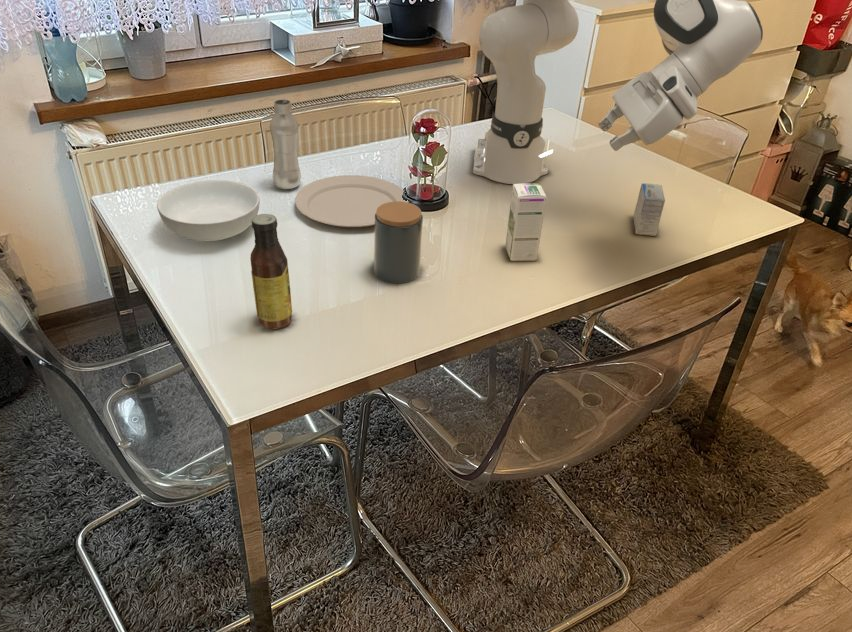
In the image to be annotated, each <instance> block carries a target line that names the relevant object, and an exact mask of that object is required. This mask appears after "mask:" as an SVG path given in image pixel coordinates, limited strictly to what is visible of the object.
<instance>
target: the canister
mask: <svg viewBox="0 0 852 632" xmlns="http://www.w3.org/2000/svg"><path fill="white" fill-rule="evenodd" d="M423 219H424V216H423V214H422V210H421V208H420V207H419V206H418V205H416V204H414V203H411V202H409V203H407V202H399V201H396V202H388V203H385V204H382V205H380V206H379V207H378V208H377V211H376V214H375V225H374V237H373V238H374V239H373V240H374V242H373V245H374V246H373V273H374V275H375V277H377V278H378V280H381V281H382V282H385V283H391V284H405V283H410V282H412V281H414V280H416V279H418V277H419V275H420V271H421V257H422V239H423V238H422V236H423V221H424V220H423Z"/></svg>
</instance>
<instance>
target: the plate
mask: <svg viewBox="0 0 852 632" xmlns="http://www.w3.org/2000/svg"><path fill="white" fill-rule="evenodd" d="M404 191H405V190H404V189H403V188H402V187H400V186H398V185H397V184H395V183H394V182H391V181H389V180H386V179H383V178H379V177H373V176H370V175H369V176H368V175H358V174H357V175H356V174H355V175H354V174H346V175H335V176H334V175H333V176H328V177H324V178H320V179H317V180H314V181H312V182H310V183H307V184H306V185H305V186H303V187H301V189H299V190H298V192H297V193H296V195H295V198H294V202H295V207H296V208H297V210H298V211H299V212H300V213H301V214H302V215H304V216H305V217H307V218H309V219H311V220H312V221H315V222H318V223H322V224H326V225H330V226H335V227H340V228H363V227H364V228H365V227H371V226H375V214H376V211H377V208H378V207H379V206H380V205H382V204H385V203H388V202H396V201H399V202H407V203H410V200H409V201H408V200H407V201H405V200H403V198H402V195H403V192H404Z"/></svg>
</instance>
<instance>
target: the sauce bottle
mask: <svg viewBox="0 0 852 632" xmlns="http://www.w3.org/2000/svg"><path fill="white" fill-rule="evenodd" d="M251 228H252V230H253V235H254V247H253V249H252V251H251V253H250V259H249V260H250V267H251V281H252V287H253V295H254V304H255V311H256V316H257V321H258V322H259V324H260V325H261V326H262V327H263V328H266V329H269V330H277V329H278V330H279V329H281V328H285V327H286V326H288V325H289V324H290V323H291V322H292V320H293V305H292V304H293V303H292V294H291V293H292V292H291V282H290V274H289V273H290V272H289V263H288V257H287V255H286V254H285V251H284V249H283V247H282V245H281V243H280V241H279V238H278V237H279V236H278V230H277V229H278V220H277V217H276V216H275V215H274V214H270V213H261V214H257V216H255V217H253V218H252V224H251Z"/></svg>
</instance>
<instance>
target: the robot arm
mask: <svg viewBox="0 0 852 632" xmlns="http://www.w3.org/2000/svg"><path fill="white" fill-rule="evenodd" d="M653 21H654V24H655V28H656V29H657V32H658V35H659V36H660V38H661V43H662V46H663V48H664V50H665V52H666V54H668V56H667V57H666V58H665V59H663V60H662V61H660V63H658V64H657V65H656V66H655V67H653V68H652V69H651V70H649V71H648V72H647V71H643V72H641V73H639V74H638V75H636V76H634V77H633V78H631V79H630V80H629V81H627V82H626V83H624V84H623V85H622V86H621V87H620V88H618V89H617V90H615V91H614V93H613V94H612V100H613V101H614V102H615V104H614V105H613V106H612V107H611V108H610V109H609V110H608V112H607V113H606V114H605V116H604V117H603V118H602V119H600V121H598V123H597V124H598V126H599V128H600V129H601V131H602V132H607V131H608V130H610V129H611V128H612V127H613V124H614V123H615V122H616V121H617V119H620V118H622V117H623V116H624V118H625V119H626V120H627V122H628V123H629V125H630V127H628V128H627V129H626V130H625V131H626V132H623V133H622V134H620V135H619V136H618V135H616V136H614V137H613V138H612V139H610V140H609V146H610V147H611V149H613V151H614V152H618V151H619V150H620V149H622V148H623V147H624V146H627V145H630V144H633V143H635V142H636V141H639V139H640V140H641V142H642V143H643V144H644V145H645V146H649V145H653V144H655V143H656V142H659V140H661V139H663V138H664V137H665V136H667V135H668V134H670V133H671V132H672V131H673V130H675V129H676V128H678V127H679V126H680V125H681V124H682V122H683V121H684V120H686V121H688V120H690V119H692V118H693V117H695V116H696V115H697V114H698V99H699V97H700V96H701V95H703V94H704V93H705V92H706V91H707V90H708V89H709V87H710V86H711V85H712V84H713V83H715V82H716V81H718V80H719V79H722V78H724V77H726V76H727V75H729V74H730V73H732V72H733V71H734V70H735V69H736V68H738V67H739V66H741V64H742V63H743V62H745V61H746V60H747V59H748V58H749V57H750V56H751V55H752V54H754V52H755V51H756V50H757V49H759V48H760V46H761V44H762V42H763V39H764V37H763V36H764V31H763V30H764V29H763V26H762V23H761V20H760V18H759V15H758V13H757V12H756V10H755V8H754V6H753V5H751V3H750V2H748V1H747V0H655V3H654V6H653ZM579 22H580V21H579V16H578V13H577V10H576V8H575V7H574V6H573V5H572V4H571V3H570V1H569V0H523V1H522V4H520V5H519V4H518V5H514V6H508V7H504V8H501V9H499V10H497V11H495V12H493V13H491V14H489V15H488V16H486V17H485V18H484V19H483V20H482V23H481V25H480V27H479V33H478V41H479V47H480V49H481V51H482V53H483V54H484V56H485V58H487V59H488V60H489V61H490V62H491V64H492V65H493V68H494V72H495V75H496V84H497V85H496V87H497V88H496V98H495V109H494V110H495V111H494V113H493V115H492V117H491V121H490V122H491V124H490V128H489V129H488V130H487V131H486V132H485V133H484V138H478V140H477V147H475V149H474V155H473V167H472V173H473V174H474V175H477V176H481V177H484V178H487V179H489V180H491V181H493V182H497V183H501V184H508V185H513V184H521V183H534V182H535V181H537V180H539V178H540V177H543V176H545V175H547V174H549V168H548V167H547V166H546V165H545V164H544V161H545V157H546V156H549V155H551V154H553V152H554V149H550V150H548V151H546V141H545V139H544V138H543V137H542V136H541V134H542V130H543V126H544V123H543V122H544V118H543V111H544V105H545V97H546V91H547V86H546V83H545V81H544V80H543V79H542V78H541V77H540V76H539V75H537V73H536V65H535V64H536V63H535V61H536V58H537V56H543V55H547V54H552V53H555V52H557V51H560V50H562V49H563V48H565V47H567V46H568V45H570V44H571V43H572V42H573V41H574V40H575V39H576V36H577V35H578V31H579V27H580V26H579V25H580V23H579Z"/></svg>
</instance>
